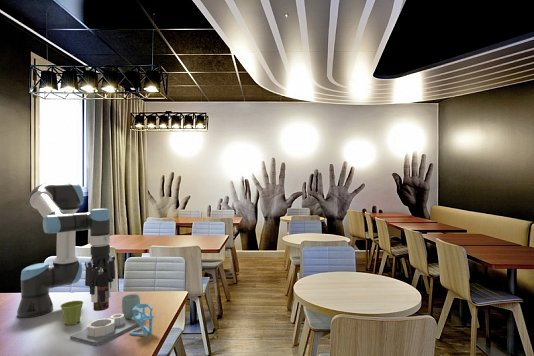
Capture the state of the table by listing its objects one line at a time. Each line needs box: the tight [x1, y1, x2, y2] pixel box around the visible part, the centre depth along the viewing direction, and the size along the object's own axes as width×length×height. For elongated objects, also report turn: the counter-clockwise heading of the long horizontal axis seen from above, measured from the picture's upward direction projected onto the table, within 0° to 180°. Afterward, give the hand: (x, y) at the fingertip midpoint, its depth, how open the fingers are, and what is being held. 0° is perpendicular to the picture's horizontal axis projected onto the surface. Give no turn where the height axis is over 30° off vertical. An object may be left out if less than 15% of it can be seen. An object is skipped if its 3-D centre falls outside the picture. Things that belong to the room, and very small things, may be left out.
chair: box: [128, 303, 155, 338], centre depth 151 cm, size 8×8×12 cm
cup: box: [121, 293, 141, 320], centre depth 168 cm, size 8×8×10 cm
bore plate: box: [69, 313, 140, 347], centre depth 153 cm, size 16×22×5 cm
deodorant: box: [92, 270, 110, 312], centre depth 151 cm, size 6×6×15 cm
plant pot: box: [59, 300, 84, 326], centre depth 164 cm, size 9×9×9 cm
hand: (101, 299), depth 151 cm, fingers closed on deodorant, 6 cm apart
